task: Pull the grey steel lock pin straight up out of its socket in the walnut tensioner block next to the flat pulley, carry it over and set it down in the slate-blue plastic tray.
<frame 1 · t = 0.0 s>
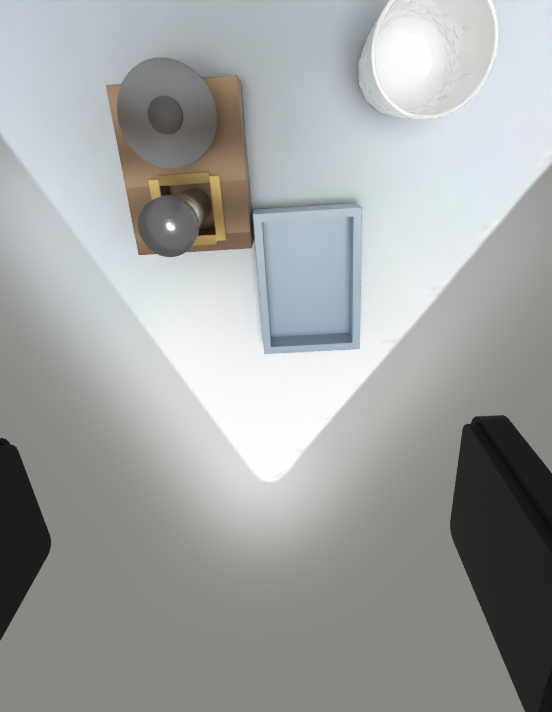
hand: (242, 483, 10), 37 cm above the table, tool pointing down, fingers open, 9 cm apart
lock pin: (195, 205, 42), point 1 cm above the table, touching tensioner block
white cup: (397, 69, 38), on the table
tray: (307, 276, 45), on the table
tensioner block: (191, 163, 41), on the table
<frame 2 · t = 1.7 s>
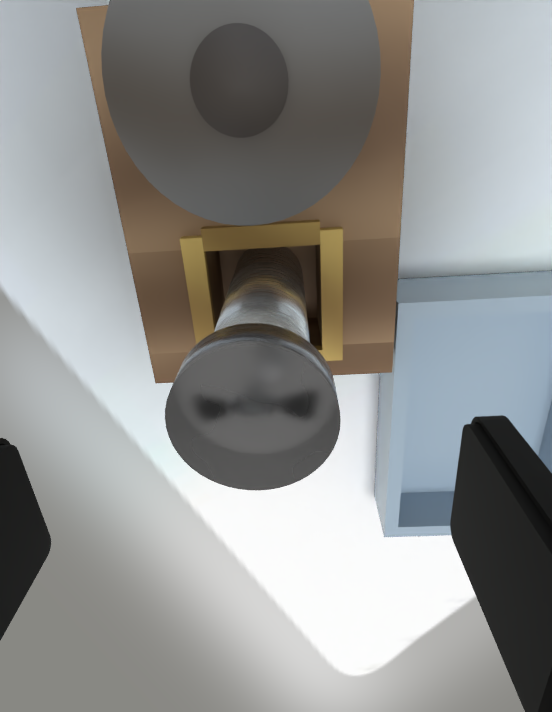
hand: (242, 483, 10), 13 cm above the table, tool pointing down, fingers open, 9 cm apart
lock pin: (268, 276, 21), point 1 cm above the table, touching tensioner block
tray: (468, 397, 24), on the table
tensioner block: (264, 190, 20), on the table
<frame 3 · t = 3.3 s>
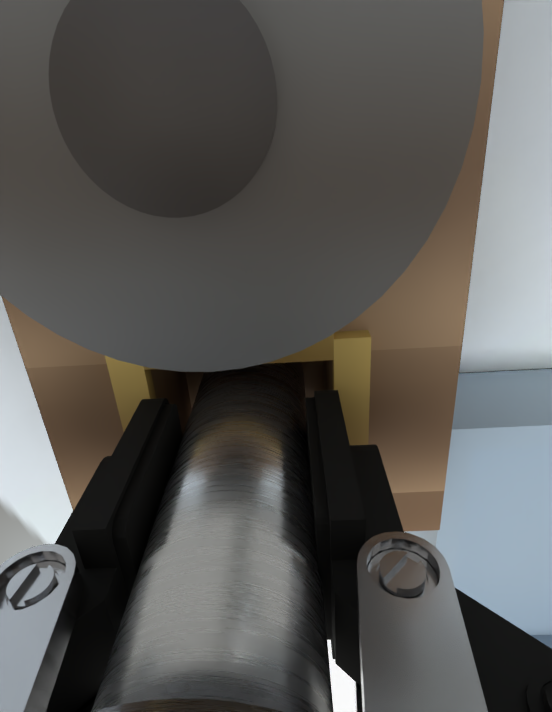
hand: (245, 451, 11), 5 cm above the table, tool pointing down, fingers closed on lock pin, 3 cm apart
lock pin: (254, 376, 14), point 1 cm above the table, touching gripper, tensioner block
tray: (529, 521, 18), on the table
tensioner block: (246, 254, 14), on the table
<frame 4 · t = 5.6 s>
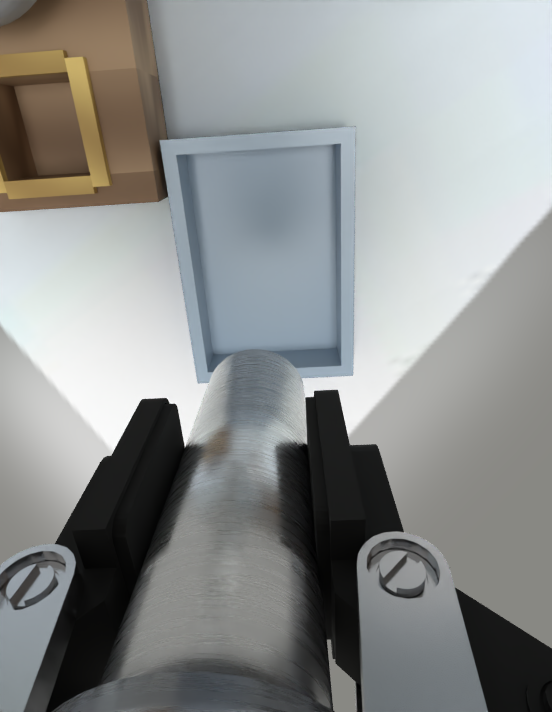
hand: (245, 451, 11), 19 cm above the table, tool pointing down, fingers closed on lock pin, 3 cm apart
lock pin: (256, 393, 14), point 15 cm above the table, touching gripper
tray: (268, 256, 28), on the table
tensioner block: (56, 53, 23), on the table
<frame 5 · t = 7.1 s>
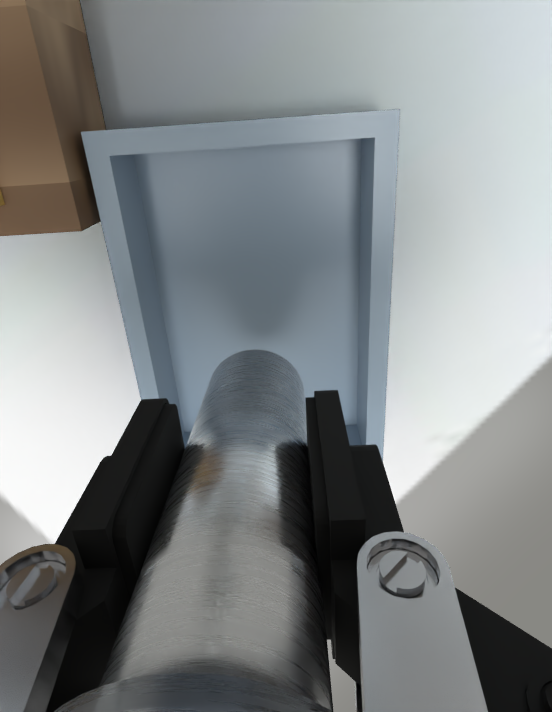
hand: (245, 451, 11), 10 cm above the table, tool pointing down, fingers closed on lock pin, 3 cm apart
lock pin: (256, 394, 14), point 6 cm above the table, touching gripper
tray: (260, 301, 19), on the table
when the fingers open (6 cm above the table, at t = 8.1 s): lock pin drops 1 cm, resting on tray.
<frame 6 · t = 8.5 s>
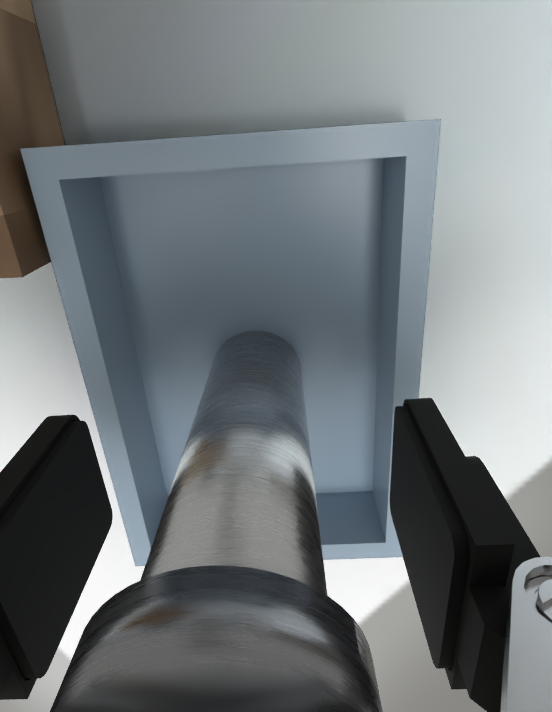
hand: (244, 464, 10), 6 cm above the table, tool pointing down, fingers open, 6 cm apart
lock pin: (256, 372, 16), point 1 cm above the table, touching tray
tray: (257, 349, 16), on the table
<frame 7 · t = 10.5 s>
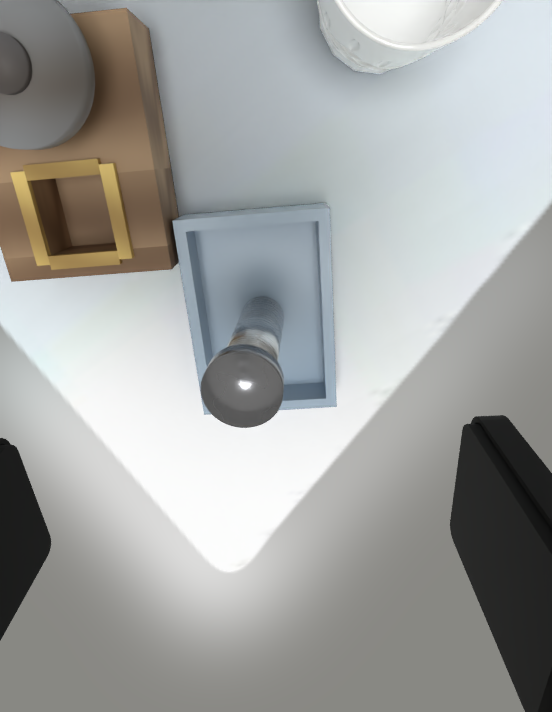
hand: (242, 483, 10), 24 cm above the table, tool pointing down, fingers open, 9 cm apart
lock pin: (262, 317, 32), point 1 cm above the table, touching tray
white cup: (377, 5, 26), on the table
tray: (263, 306, 33), on the table
tensioner block: (88, 150, 29), on the table
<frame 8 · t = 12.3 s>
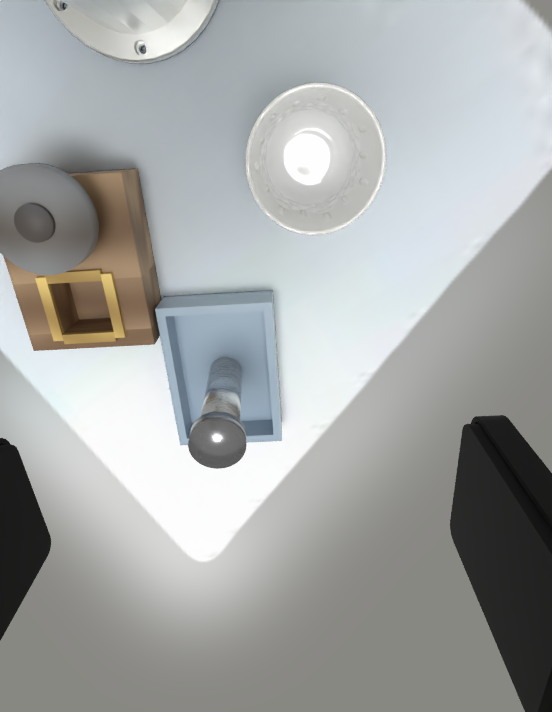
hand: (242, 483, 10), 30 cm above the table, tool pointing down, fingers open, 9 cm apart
lock pin: (225, 372, 42), point 1 cm above the table, touching tray
white cup: (307, 156, 35), on the table
tray: (226, 363, 42), on the table
tensioner block: (91, 250, 38), on the table
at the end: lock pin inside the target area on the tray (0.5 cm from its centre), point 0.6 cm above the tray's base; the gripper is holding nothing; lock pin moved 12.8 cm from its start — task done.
